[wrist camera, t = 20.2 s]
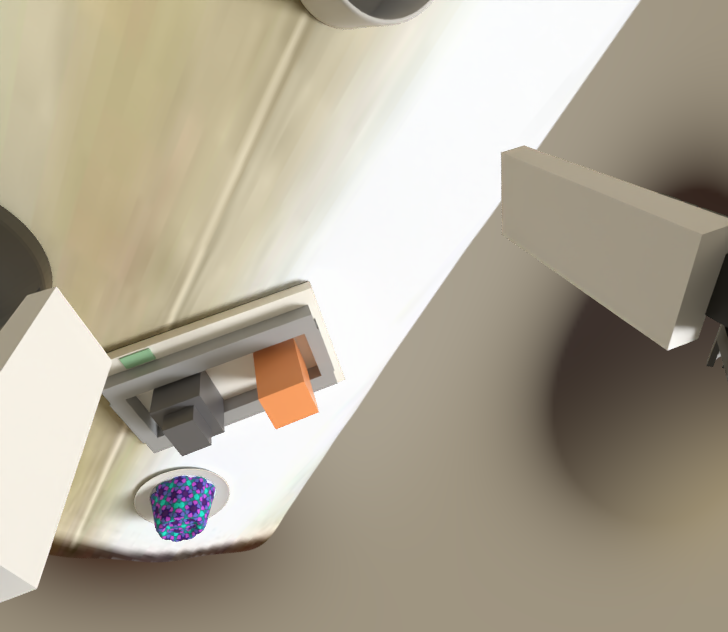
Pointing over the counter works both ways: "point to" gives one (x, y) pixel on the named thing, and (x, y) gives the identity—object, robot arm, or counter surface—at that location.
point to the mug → (365, 12)
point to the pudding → (181, 502)
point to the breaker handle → (189, 412)
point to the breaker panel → (227, 323)
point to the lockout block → (284, 383)
